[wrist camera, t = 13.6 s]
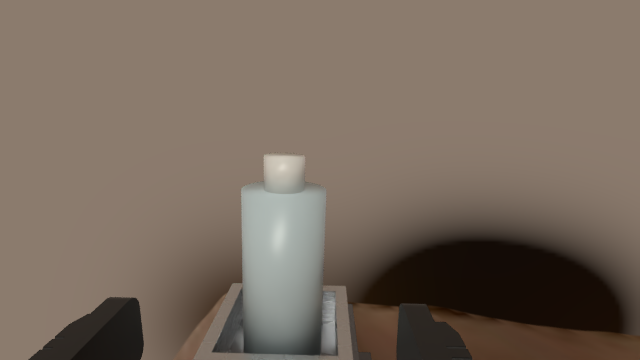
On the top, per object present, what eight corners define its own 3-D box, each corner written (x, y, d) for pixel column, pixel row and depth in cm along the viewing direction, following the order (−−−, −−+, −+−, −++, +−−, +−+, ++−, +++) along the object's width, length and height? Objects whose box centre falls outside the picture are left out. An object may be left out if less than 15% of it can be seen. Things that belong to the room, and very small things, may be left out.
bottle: (321, 330, 26) (328, 151, 24) (319, 382, 21) (327, 164, 19) (252, 327, 26) (251, 149, 24) (234, 378, 21) (230, 160, 19)
